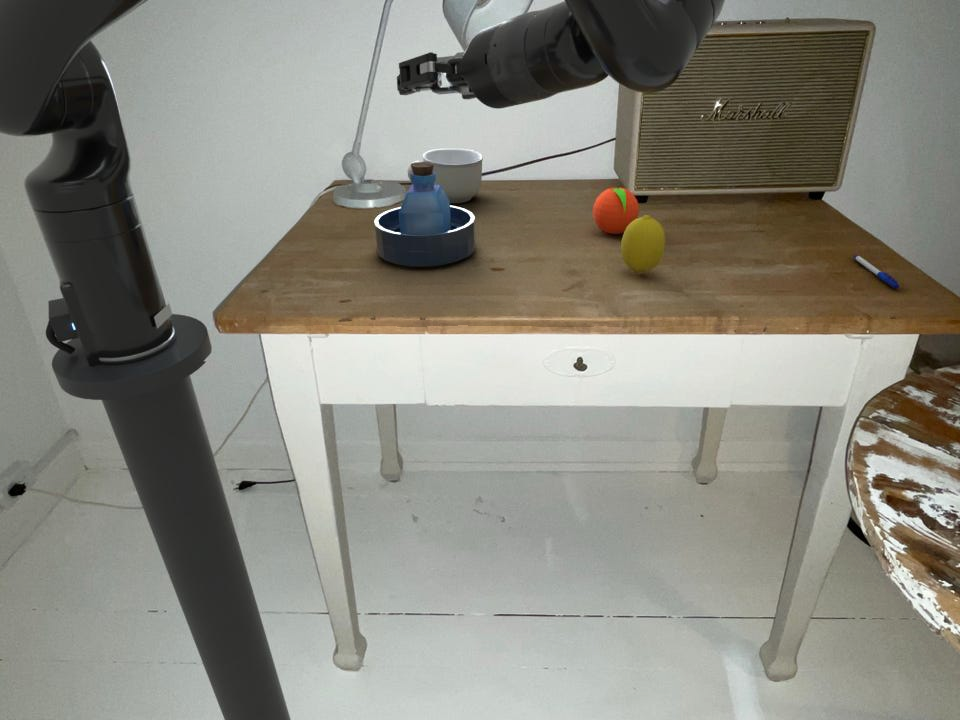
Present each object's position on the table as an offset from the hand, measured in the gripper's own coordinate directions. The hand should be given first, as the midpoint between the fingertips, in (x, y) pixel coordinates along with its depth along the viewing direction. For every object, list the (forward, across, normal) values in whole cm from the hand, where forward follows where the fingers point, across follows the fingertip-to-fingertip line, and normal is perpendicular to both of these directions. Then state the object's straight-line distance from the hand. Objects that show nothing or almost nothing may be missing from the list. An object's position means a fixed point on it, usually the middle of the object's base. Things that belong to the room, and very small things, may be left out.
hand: (433, 87), depth 73 cm
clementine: (+2, -33, +19) cm, 38 cm away
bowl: (+14, -6, +20) cm, 25 cm away
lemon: (-11, -24, +23) cm, 35 cm away
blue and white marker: (-30, -48, +24) cm, 61 cm away
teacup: (+33, -22, +13) cm, 42 cm away
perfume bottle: (+13, -6, +20) cm, 24 cm away
